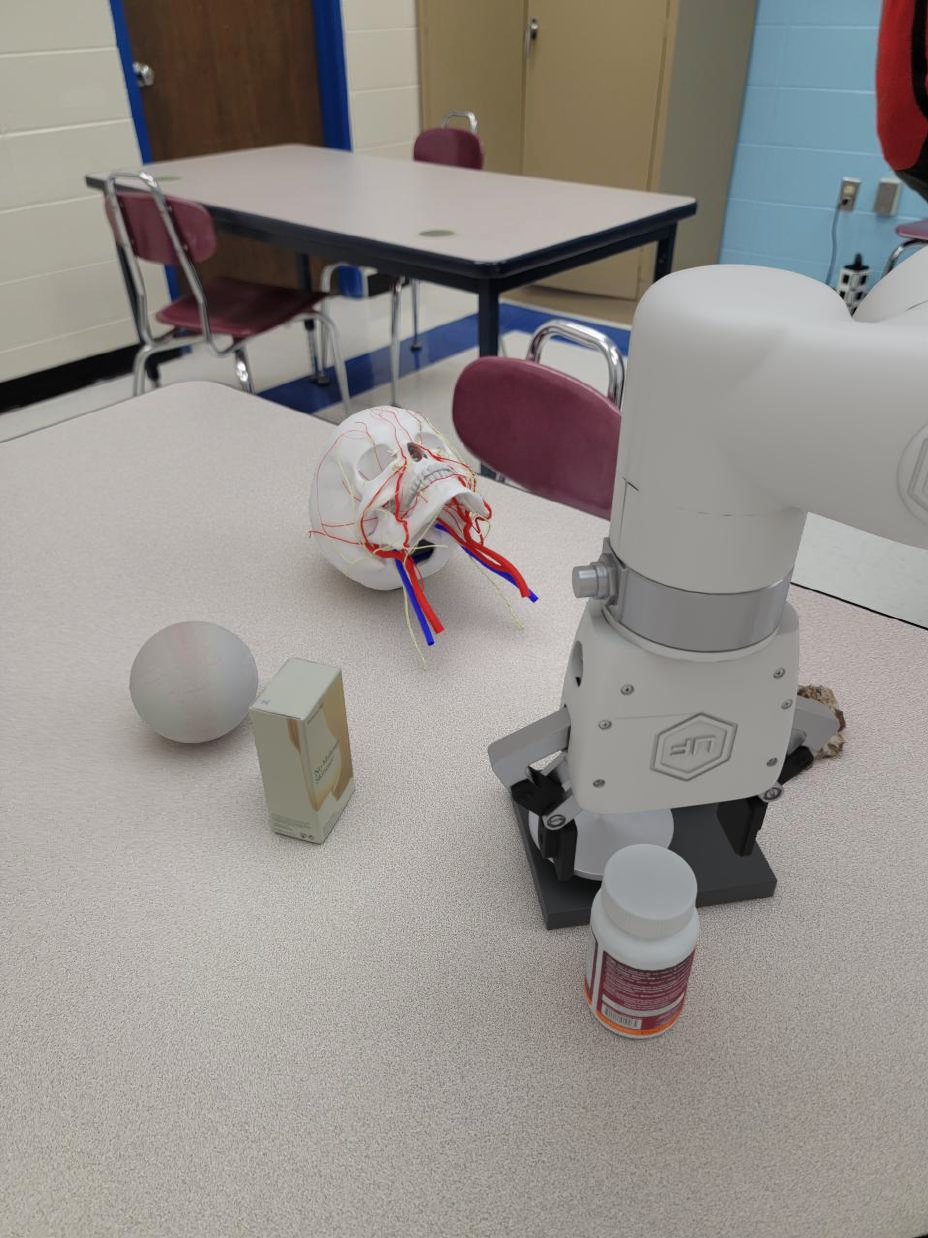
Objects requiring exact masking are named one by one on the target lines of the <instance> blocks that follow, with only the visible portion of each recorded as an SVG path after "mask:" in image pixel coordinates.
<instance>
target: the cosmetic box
mask: <svg viewBox="0 0 928 1238" xmlns="http://www.w3.org/2000/svg"><path fill="white" fill-rule="evenodd" d="M248 714H249V718H250V722H251V728H252V732H253V739H254V743H255V748H256V754H257V759H258V764H259V769H260V775H261V779H262V785H263V790H264V796H265V802H266V806H267V813H268V817H269V821H270V827H271V831H272V832H274V833H278V834H282V835H285V836H289V837H291V838H294V839H299V840H303V841H307V842H311V843H316V844H322V843H324V841H325V840H326V838H327V837H328V835H329V834H330V832H331V831H332V829H333V827H334V826H335V824H336V822H337V821H338V819H339V818H340V816H341V814H342V813H343V811H344V810H345V808H346V805H348V803H349V801H350V798H351V797H352V795H353V793H354V791H355V789H356V785H355V784H356V783H355V776H354V769H353V759H352V751H351V750H352V749H351V742H350V733H349V725H348V717H347V707H346V698H345V690H344V682H343V672H342V668H341V667H339V666H334V665H330V664H325V663H323V662H318V661H314V660H313V661H312V660H309V659H303V658H300V657H295V656H290V657H288V659H287V660H286V661H285V662H284V663H283V664H282V666H281V667H280V668H279V669H278V671H277V672H276V673H275V674H274V676H272V678H270V680H269V681H268V682H267V683H266V685H265V686H264V687H263V689H262V690H261V692H260V693H259V694H257V696H256V697H255V699H254V701H253V703H252V704H251V705H250V706H249V712H248Z"/></svg>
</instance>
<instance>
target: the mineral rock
mask: <svg viewBox="0 0 928 1238" xmlns="http://www.w3.org/2000/svg"><path fill="white" fill-rule="evenodd" d="M797 695H799V696H802V697H805V698H808V699H811V700H813V701H816V702H819V703H822V704H825V705H827V706H828V707H829V709H830V710H831V711H832V713H833V714H834V716H835V717H836V718H837V720H838V721H839V723H840V728H839V729H838V731H837V732H836V733H835V734H834V735H833V736H832V737H831V738H830V739H829V740H828V741H827V743H826V744H825V745H824V746H823V747H822V748H821V749H820V750H819V751H818V750H816V751H815V752H814V753H813V756H814V761H813V763H812V764H811V765H810V766H809V767H807V768H806V769H804V770H803V771H802V772H800V773H799V774H797V775H796V776H798V775H800V774H802V773H803V772H804V771H807V770H810V769H811V768H812V767H813V766H814V764H815V762H816V761H817V760H820V759H822V758H824V757H825V756H828V757H831V758H832V757H835V756H836V755H838V754H839V753H841V752H843V747H844V745H845V744H847V742H846V740H845V739H844V737H843V732H844V731H845V729H846V728H847V722H846V719H845V717H844V711H842V710H841V708H840V705H839V702H838V700H837V699H836V696H835V694H834V692H833V690H832V689H831V688H830V687H827V686H824V685H823V684H820V685H815V684H811V683H810V684H809V685H801V684H798V688H797ZM791 731H792V730H791Z"/></svg>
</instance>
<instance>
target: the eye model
mask: <svg viewBox="0 0 928 1238" xmlns="http://www.w3.org/2000/svg"><path fill="white" fill-rule="evenodd" d="M258 689H259V672H258V665H257V663H256V660H255V657H254V655H253V653H252V650H251V649H250V648H249V646H248V645H247V644H246V643H245V642H244V641H243V640H242V639H241V638H240V637H239V636H237V635H236V634H235V633H234V632H233V631H231V630H230V629H228V628H226V627H224V626H222V625H220V624H218V623H214V622H211V621H204V620H185V621H181V622H176V623H172V624H170V625H168V626H166V627H164V628H162V629H159V630H158V631H157V632H156V633H154V634H153V635H152V636H151V637H149V638H148V640H146V642H144V644H143V645H142V646H141V647H140V649H139V650H138V652H137V654H136V656H135V658H134V660H133V663H132V666H131V669H130V673H129V692H130V698H131V701H132V704H133V706H134V709H135V711H136V712H137V715H138V716H139V717H140V719H141V720H142V721H143V723H145V724H146V725H147V726H148V727H149V728H150V729H152V730H153V731H154V732H155V733H157V734H158V735H160V736H161V737H164V738H166V739H169V740H171V741H175V742H179V743H185V744H199V743H200V744H201V743H206V742H209V741H213V740H216V739H219V738H221V737H223V736H225V735H227V734H228V733H230V732H231V731H233V730H234V729H235V728H236V727H238V725H240V723H242V721H244V719H245V718H246V717H247V715H248V714H249V706H250V705H251V704H252V703H253V701H254V700H255V699H256V697H257V693H258Z"/></svg>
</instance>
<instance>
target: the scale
mask: <svg viewBox="0 0 928 1238" xmlns="http://www.w3.org/2000/svg"><path fill="white" fill-rule="evenodd" d="M543 769H544V768H543ZM543 769H542V768H541V769H536V770H537V771H538V772H541V771H542V770H543ZM509 795H510V799H511V802H512V806H513V810H514V813H515V817H516V821H517V825H518V829H519V833H520V836H521V839H522V843H523V848H524V850H525V851H524V852H525V855H526V857H527V863H528V865H529V869H530V873H531V877H532V880H533V884H534V888H535V891H536V896H537V899H538V902H539V906H540V910H541V913H542V917H543V920H544V921H543V922H544V924H545V928H546V930H547V931H549V930H554V929H561V928H567V927H574V926H581V925H590V917H591V909H592V904H593V901H594V898H595V896H596V894H597V893H598V891H599V890H600V888H601V886H602V881H600V880H592V879H587V878H583V877H580V876H577V875H574V874H573V877H570V880H566V881H559V879H558V876H557V872H556V869H555V866H554V863H553V862H551V861H550V860H549V859H548V858H547V859H543V858H542V855H541V851H540V849H539V848H538V847H537V845H536V843H535V842H534V840H533V837H532V835H531V832H530V827H529V810H528V809H526V808H524V807H523V806H521V805H519V804H518V803H516V802H515V801H514V800H513V797H512V794H511V793H510V792H509ZM718 804H719V802H715V803H708V804H701V805H693V806H686V807H678V808H670V810H671V813H672V816H673V821H674V831H673V838H672V842H671V845H670V848H669V850H671V851H673V852H674V853H676V854H677V855H679V856H680V857H681V858H683V859H684V860H685V861H686V863H687V864H688V865H689V866H690V868H691V869H692V871H693V873H694V875H695V878H696V882H697V896H696V901H695V907H696V908H702V907H708V906H714V905H716V906H717V905H722V904H729V903H736V902H742V901H748V900H757V899H762V898H769V897H774V894H775V891H776V888H777V884H778V879H777V877H776V875H775V873H774V871H773V869H772V868H771V865H770V864H769V862H768V860H767V858H766V856H765V854H764V853H763V851H762V849H761V847H760V845H759V843H758V841H757V839H756V840H755V844H754V847H753V851H752V854H751V855H750V856H744V857H740V856H739V855H736V854H735V852H734V850H733V848H732V846H731V844H730V842H729V840H728V838H727V836H726V834H725V832H724V830H723V828H722V826H721V824H720V822H719V820H718V818H717V808H718Z"/></svg>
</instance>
